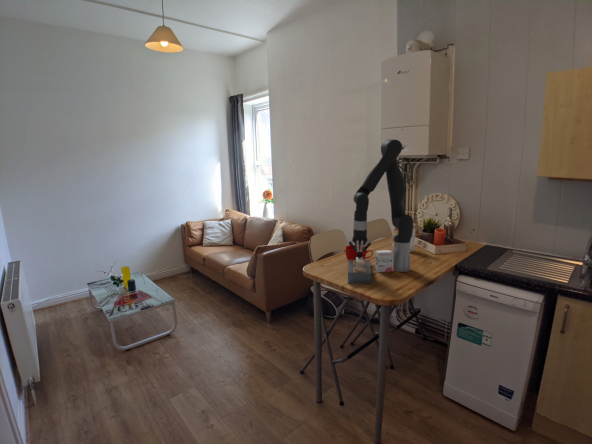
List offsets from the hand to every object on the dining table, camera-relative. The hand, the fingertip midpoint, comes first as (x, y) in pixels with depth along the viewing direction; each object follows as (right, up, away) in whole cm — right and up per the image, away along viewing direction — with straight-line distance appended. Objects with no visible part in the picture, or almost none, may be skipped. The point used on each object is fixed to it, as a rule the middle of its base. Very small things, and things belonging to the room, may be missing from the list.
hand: (359, 257), depth 187 cm
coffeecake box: (+40, +1, +45) cm, 60 cm away
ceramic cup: (+3, -6, +17) cm, 18 cm away
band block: (-1, -10, -4) cm, 11 cm away
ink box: (+15, -8, +4) cm, 17 cm away
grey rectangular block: (-2, -6, -11) cm, 13 cm away
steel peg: (0, -6, +1) cm, 6 cm away
